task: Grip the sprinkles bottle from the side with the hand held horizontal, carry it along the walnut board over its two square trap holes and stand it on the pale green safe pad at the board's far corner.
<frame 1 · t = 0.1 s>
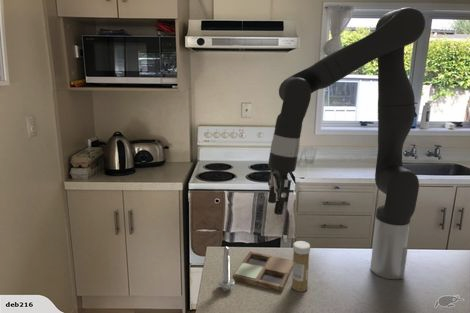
hand: (274, 208, 96), 22 cm above the table, tool pointing down, fingers open, 8 cm apart
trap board: (264, 272, 104), on the table
sprinkles bottle: (299, 287, 97), on the table
screw: (226, 288, 96), on the table
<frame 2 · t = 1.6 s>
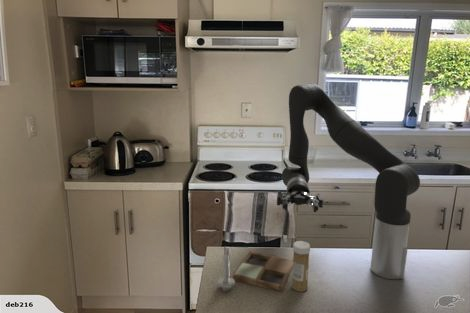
hand: (300, 208, 102), 20 cm above the table, tool horizontal, fingers open, 8 cm apart
nothing on the table moved.
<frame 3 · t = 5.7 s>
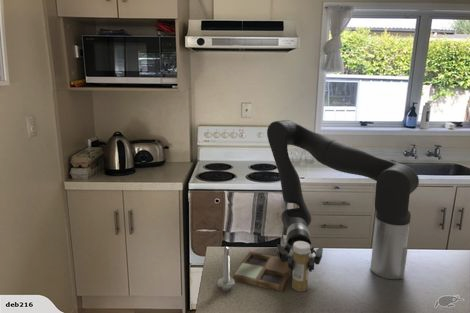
hand: (301, 267, 92), 8 cm above the table, tool horizontal, fingers closed on sprinkles bottle, 4 cm apart
sprinkles bottle: (299, 287, 97), on the table, touching gripper
everything else where it was.
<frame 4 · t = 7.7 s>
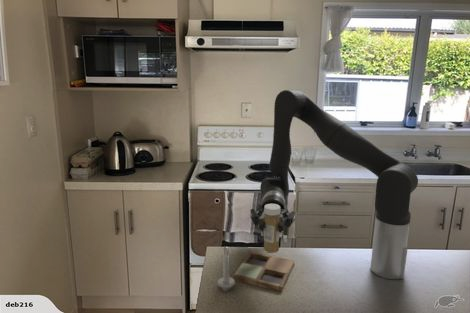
hand: (271, 228, 93), 18 cm above the table, tool horizontal, fingers closed on sprinkles bottle, 4 cm apart
sprinkles bottle: (271, 250, 98), point 10 cm above the table, touching gripper
everything else where it was.
when the fingers open (10 cm above the table, at t = 9.9 s): sprinkles bottle stays where it is, resting on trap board.
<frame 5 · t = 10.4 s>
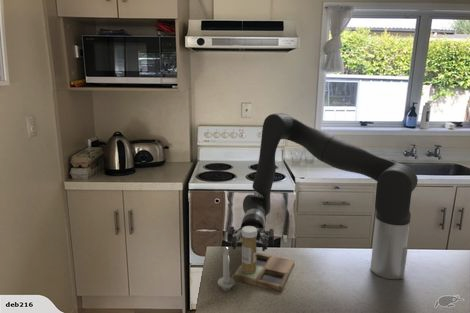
hand: (248, 247, 98), 11 cm above the table, tool horizontal, fingers open, 8 cm apart
sprinkles bottle: (248, 270, 102), point 2 cm above the table, touching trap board
everything else where it was.
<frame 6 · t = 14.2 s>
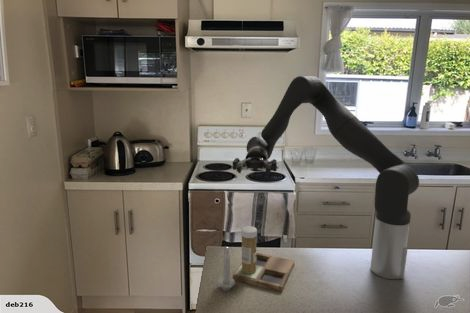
hand: (253, 170, 105), 30 cm above the table, tool horizontal, fingers open, 8 cm apart
nothing on the table moved.
at the end: sprinkles bottle inside the target area on the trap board (0.1 cm from its centre), point 1.6 cm above the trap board's base; sprinkles bottle tilted 0°; the gripper is holding nothing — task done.
